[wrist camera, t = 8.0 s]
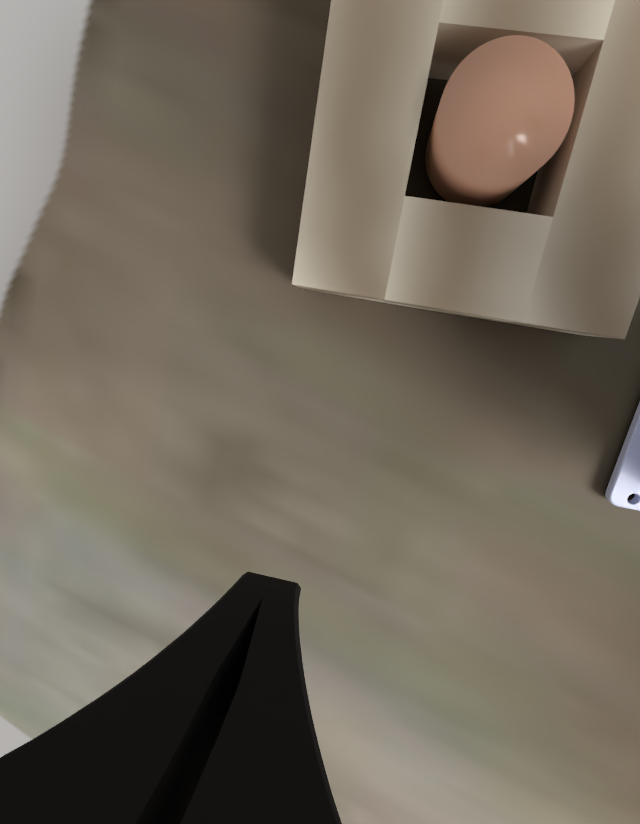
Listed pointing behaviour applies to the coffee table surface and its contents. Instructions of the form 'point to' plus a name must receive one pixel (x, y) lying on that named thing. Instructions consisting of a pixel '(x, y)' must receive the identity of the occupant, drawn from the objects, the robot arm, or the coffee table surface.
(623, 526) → the coffee table surface
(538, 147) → the terracotta button
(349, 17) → the button panel
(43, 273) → the coffee table surface
